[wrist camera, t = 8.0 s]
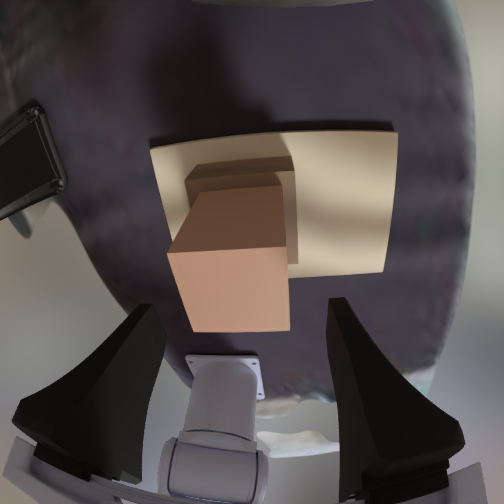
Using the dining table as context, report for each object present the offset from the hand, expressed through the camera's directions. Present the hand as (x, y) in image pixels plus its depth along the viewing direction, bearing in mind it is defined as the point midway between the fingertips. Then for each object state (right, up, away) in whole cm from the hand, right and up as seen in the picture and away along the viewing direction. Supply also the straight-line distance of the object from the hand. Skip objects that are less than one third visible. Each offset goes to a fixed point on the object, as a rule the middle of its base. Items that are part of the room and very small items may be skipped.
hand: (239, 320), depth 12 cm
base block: (0, +6, +8) cm, 10 cm away
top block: (0, +4, +5) cm, 7 cm away
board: (+2, +6, +9) cm, 10 cm away
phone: (-22, +11, +8) cm, 26 cm away
